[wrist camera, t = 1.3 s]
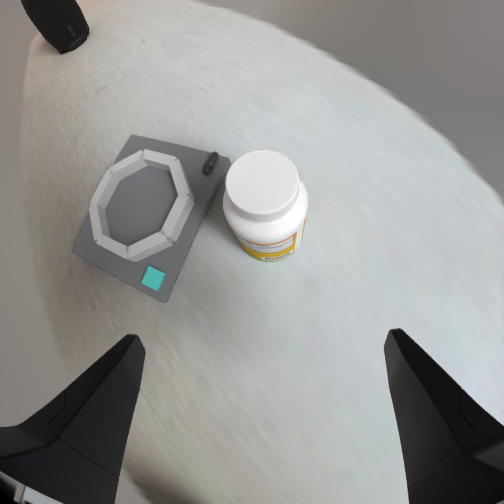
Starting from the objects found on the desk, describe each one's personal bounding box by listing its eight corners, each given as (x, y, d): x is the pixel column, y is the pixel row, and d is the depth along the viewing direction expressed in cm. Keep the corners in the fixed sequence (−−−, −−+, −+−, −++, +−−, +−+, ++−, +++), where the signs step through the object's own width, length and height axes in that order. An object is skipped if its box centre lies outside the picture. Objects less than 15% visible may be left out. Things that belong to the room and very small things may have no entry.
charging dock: (166, 302, 24) (154, 300, 22) (76, 253, 26) (62, 247, 24) (230, 163, 26) (225, 149, 24) (135, 139, 29) (125, 127, 26)
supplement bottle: (263, 192, 25) (250, 124, 16) (314, 224, 24) (330, 167, 15) (226, 240, 25) (192, 192, 15) (278, 276, 24) (274, 247, 14)
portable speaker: (59, 47, 40) (21, -6, 21) (94, 24, 40) (59, -33, 21) (56, 63, 38) (11, 5, 19) (94, 37, 38) (53, -27, 19)
